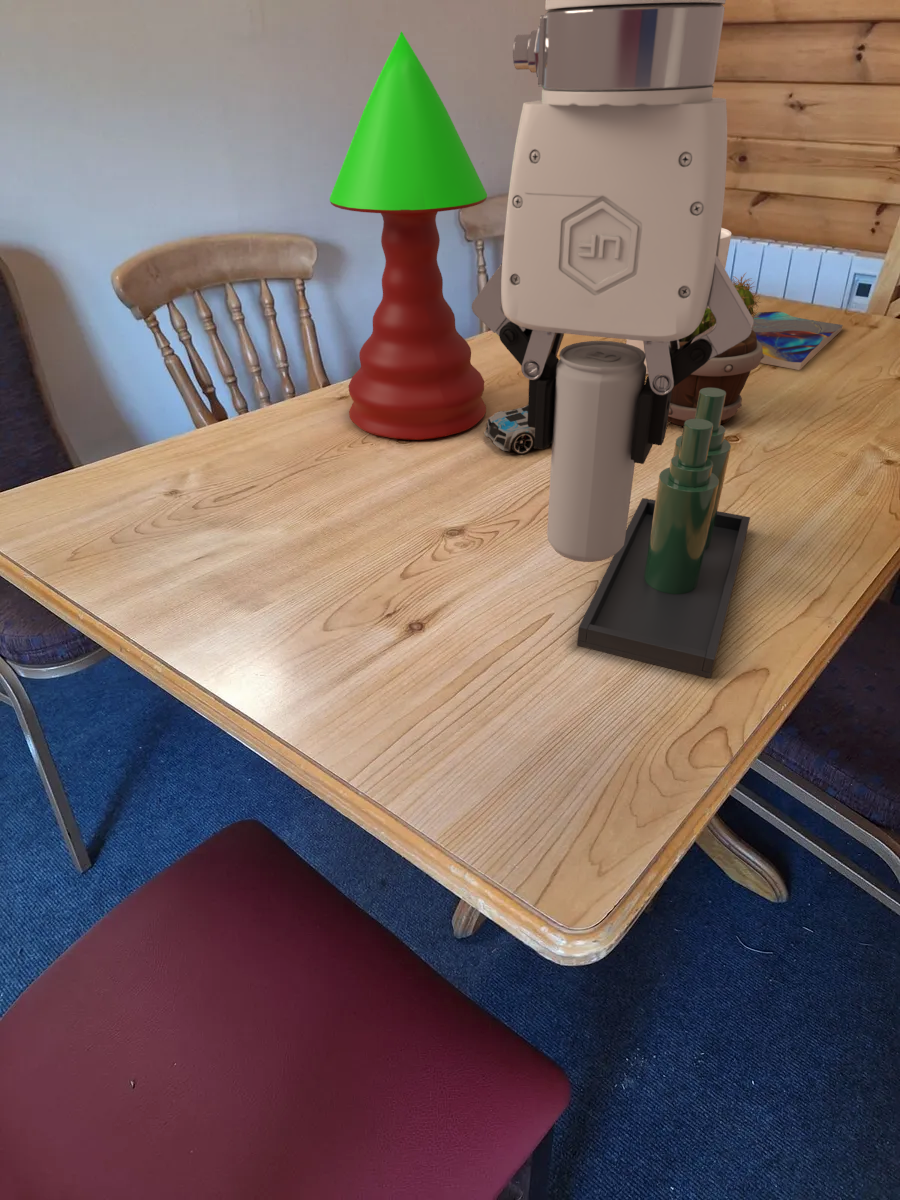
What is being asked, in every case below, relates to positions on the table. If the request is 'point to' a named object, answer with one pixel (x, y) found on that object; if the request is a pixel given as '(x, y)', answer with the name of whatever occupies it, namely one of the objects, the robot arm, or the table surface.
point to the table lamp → (411, 257)
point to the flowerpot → (718, 368)
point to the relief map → (791, 338)
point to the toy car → (511, 430)
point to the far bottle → (713, 441)
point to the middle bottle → (682, 514)
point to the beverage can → (593, 448)
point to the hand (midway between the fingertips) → (594, 443)
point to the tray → (664, 601)
